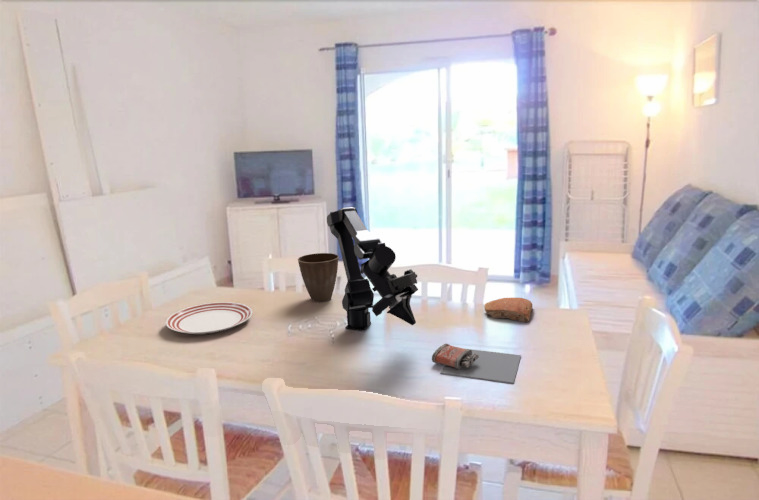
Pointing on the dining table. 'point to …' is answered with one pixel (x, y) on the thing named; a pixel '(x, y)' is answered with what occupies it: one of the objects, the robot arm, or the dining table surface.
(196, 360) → the dining table surface
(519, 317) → the brown rounded lump
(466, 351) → the lighter
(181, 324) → the dinner plate
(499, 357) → the mat
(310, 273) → the plant pot
